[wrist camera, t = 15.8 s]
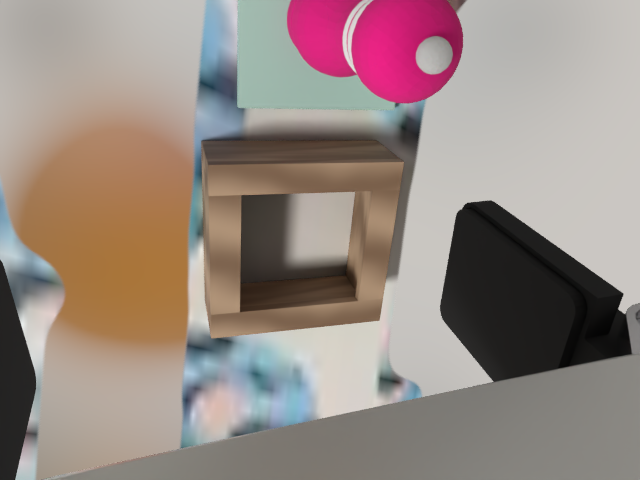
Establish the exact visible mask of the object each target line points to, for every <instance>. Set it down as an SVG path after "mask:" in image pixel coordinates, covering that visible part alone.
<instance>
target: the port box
mask: <svg viewBox="0 0 640 480" xmlns="http://www.w3.org/2000/svg"><path fill="white" fill-rule="evenodd" d="M201 148H202V192H203V235H204V279H205V303H206V309H207V315H208V321H209V328H210V334H211V338H220V337H230V336H239V335H248V334H258V333H267V332H277V331H286V330H295V329H305V328H314V327H324V326H333V325H343V324H352V323H361V322H371V321H379V320H380V314H381V307H382V301H383V294H384V288H385V282H386V275H387V269H388V263H389V256H390V250H391V243H392V237H393V231H394V224H395V218H396V211H397V205H398V199H399V192H400V186H401V180H402V173H403V167H404V161H402V160H401V159H400V158H398V157H397V156H396V155H395V154H393V153H392V152H391V151H389V150H388V149H387V148H386V147H384V146H383V145H382V144H381V143H379V142H378V141H377V140H293V141H201ZM325 192H355V200H354V209H353V217H352V226H351V234H350V243H349V251H348V260H347V269H346V275H344V276H332V277H319V278H306V279H294V280H281V281H268V282H255V283H243V284H240V265H241V195H261V194H293V193H325Z"/></svg>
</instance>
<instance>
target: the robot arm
mask: <svg viewBox="0 0 640 480" xmlns="http://www.w3.org/2000/svg"><path fill="white" fill-rule="evenodd" d="M622 297H623V293H622V292H620V291H619V290H617V289H616V288H615V287H613V286H612V285H610V284H609V283H608V282H606V281H605V280H603V279H602V278H601V277H599V276H598V275H596V274H595V273H594V272H592V271H591V270H589V269H588V268H586V267H585V266H584V265H582V264H581V263H579V262H578V261H577V260H575V259H574V258H572V257H571V256H569V255H568V254H567V253H565V252H564V251H562V250H561V249H560V248H558V247H557V246H556V245H554V244H553V243H551V242H550V241H548V240H547V239H546V238H544V237H543V236H541V235H540V234H539V233H537V232H536V231H534V230H533V229H532V228H530V227H529V226H527V225H526V224H525V223H523V222H522V221H520V220H519V219H517V218H516V217H515V216H513V215H512V214H510V213H509V212H508V211H506V210H505V209H503V208H502V207H501V206H499V205H498V204H496V203H495V202H493V201H481V202H471V203H467V204H465V205H464V207H463V208H462V210H460V211H458V213H457V215H456V220H455V225H454V231H453V237H452V242H451V248H450V253H449V259H448V265H447V270H446V276H445V282H444V287H443V294H442V299H441V305H440V311H441V316H442V318H443V320H444V322H445V323H446V324H447V325H448V327H449V328H450V329H451V330H452V332H453V333H454V334H455V335H456V336H457V338H458V339H459V340H460V341H461V343H462V344H463V345H464V346H465V347H466V348H467V350H468V351H469V352H470V353H471V355H472V356H473V357H474V358H475V359H476V361H477V362H478V363H479V364H480V366H481V367H482V368H483V369H484V370H485V372H486V373H487V374H488V375H489V377H490V378H491V379H492V380H493V381H494V382H492V383H487V384H482V385H478V386H473V387H468V388H463V389H459V390H454V391H449V392H445V393H440V394H435V395H431V396H426V397H421V398H416V399H412V400H407V401H402V402H398V403H393V404H388V405H383V406H379V407H374V408H369V409H365V410H360V411H355V412H350V413H346V414H341V415H336V416H331V417H327V418H322V419H317V420H313V421H308V422H303V423H298V424H294V425H289V426H284V427H279V428H275V429H270V430H265V431H261V432H256V433H251V434H246V435H242V436H237V437H232V438H228V439H223V440H218V441H214V442H209V443H205V444H200V445H195V446H191V447H186V448H182V449H177V450H172V451H168V452H163V453H159V454H154V455H149V456H145V457H141V458H136V459H131V460H127V461H122V462H117V463H113V464H108V465H103V466H99V467H94V468H90V469H85V470H80V471H77V472H71V473H67V474H62V475H58V476H54V477H50V478H46V479H42V480H640V303H638V304H635V305H632V306H631V307H629V308H628V309H627V311H626V314H623V313H622V312H621V311H619V310H618V307H619V305H620V302H621V299H622ZM35 391H36V376H35V371H34V367H33V364H32V360H31V357H30V354H29V350H28V347H27V344H26V340H25V337H24V333H23V330H22V327H21V323H20V320H19V317H18V313H17V310H16V306H15V303H14V300H13V296H12V293H11V290H10V286H9V283H8V279H7V276H6V273H5V269H4V266H3V263H2V262H1V260H0V480H15V478H16V473H17V469H18V465H19V460H20V456H21V452H22V447H23V443H24V439H25V434H26V430H27V426H28V421H29V417H30V413H31V408H32V404H33V400H34V395H35Z"/></svg>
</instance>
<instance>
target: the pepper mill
mask: <svg viewBox="0 0 640 480" xmlns="http://www.w3.org/2000/svg"><path fill="white" fill-rule="evenodd" d="M287 28H288V32H289V35H290V38H291V40H292V42H293V44H294V45H295V46H296V48H297V49H298V51H299V53H300V55H301V56H302V58H303V59H304V60H305V61H306V62H307V63H308V64H309V65H310V66H311V67H312V68H314V69H315V70H317V71H319V72H321V73H324V74H326V75H329V76H333V77H350V76H354V75H358V77H359V78H360V80H361V82H362V83H363V84H364V85H365V86H366V87H367V88H368V89H369V90H370V91H371V92H372V93H374V94H375V95H376V96H378V97H380V98H383V99H385V100H387V101H390V102H395V103H413V102H418V101H421V100H424V99H426V98H428V97H430V96H432V95H433V94H435V93H436V92H438V91H439V90H440V89H441V88H442V87H443V86H444V85H445V84H446V83H447V82H448V81H449V79H450V78H451V77H452V75H453V74H454V72H455V70H456V68H457V66H458V63H459V61H460V58H461V54H462V48H463V32H462V27H461V24H460V21H459V18H458V16H457V14H456V12H455V10H454V9H453V8H452V6H451V5H450V4H449V2H448V1H447V0H291V2H290V4H289V7H288V12H287Z"/></svg>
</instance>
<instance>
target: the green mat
mask: <svg viewBox="0 0 640 480" xmlns="http://www.w3.org/2000/svg"><path fill="white" fill-rule="evenodd" d="M290 2H291V0H238V54H237V106H238V108H277V109H342V110H394V109H395V102H390V101H387V100H385V99H383V98H380V97H378V96H376V95H375V94H374V93H372V92H371V91H370V90H369V89H368V88H367V87H366V86H365V85H364V84H363V83H362V82H361V80H360V78H359V77H358V75H354V76H350V77H333V76H329V75H326V74H324V73H321V72H319V71H317V70H315V69H314V68H312V67H311V66H310V65H309V64H308V63H307V62H306V61H305V60H304V59H303V58H302V56H301V55H300V53H299V51H298V49H297V48H296V46H295V45H294V44H293V42H292V40H291V38H290V35H289V32H288V28H287V12H288V7H289V4H290Z"/></svg>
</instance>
